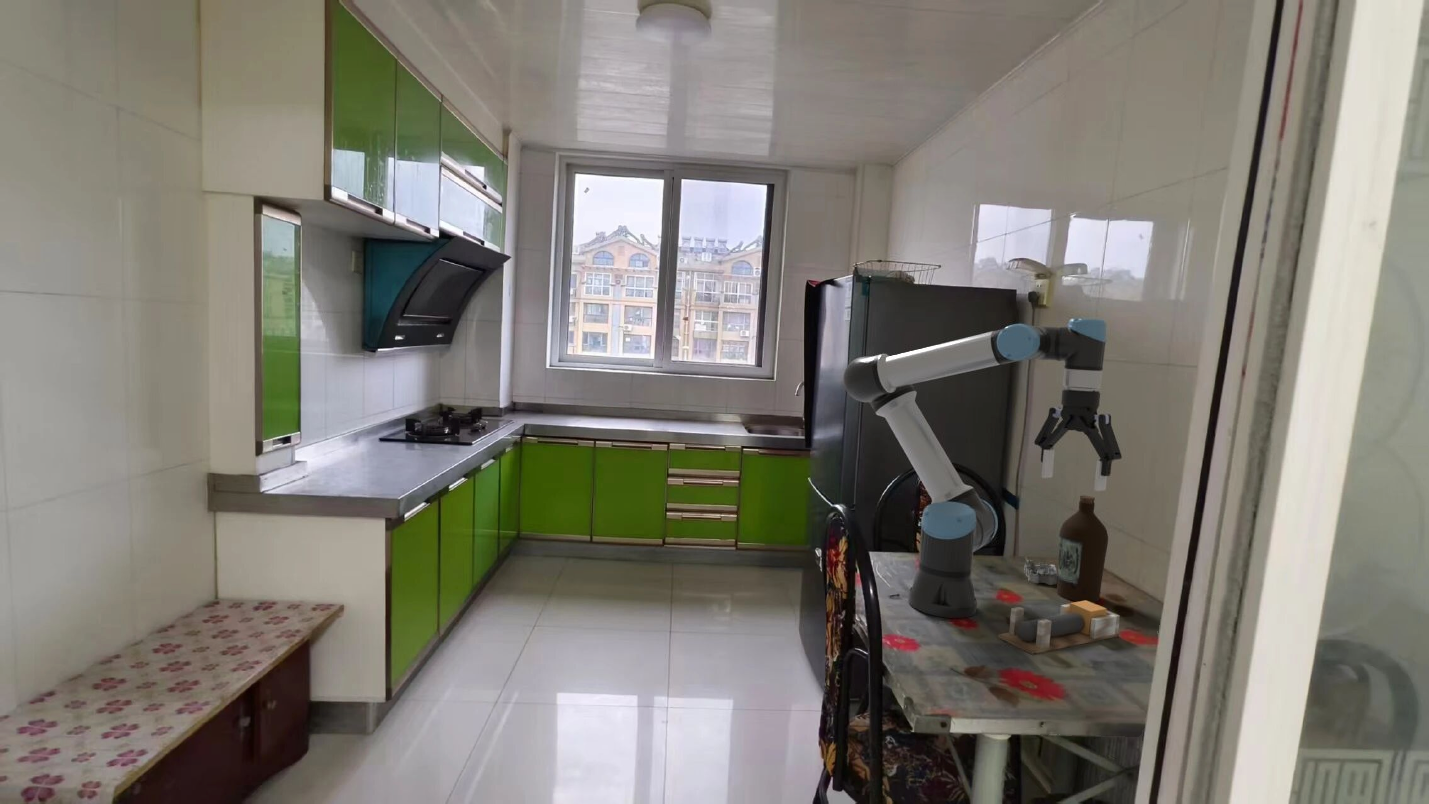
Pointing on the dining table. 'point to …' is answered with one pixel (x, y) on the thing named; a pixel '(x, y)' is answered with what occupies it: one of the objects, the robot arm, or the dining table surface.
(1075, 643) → the wooden stand
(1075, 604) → the grey handled block hammer
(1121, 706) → the dining table surface
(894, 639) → the dining table surface
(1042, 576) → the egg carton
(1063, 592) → the olive oil
